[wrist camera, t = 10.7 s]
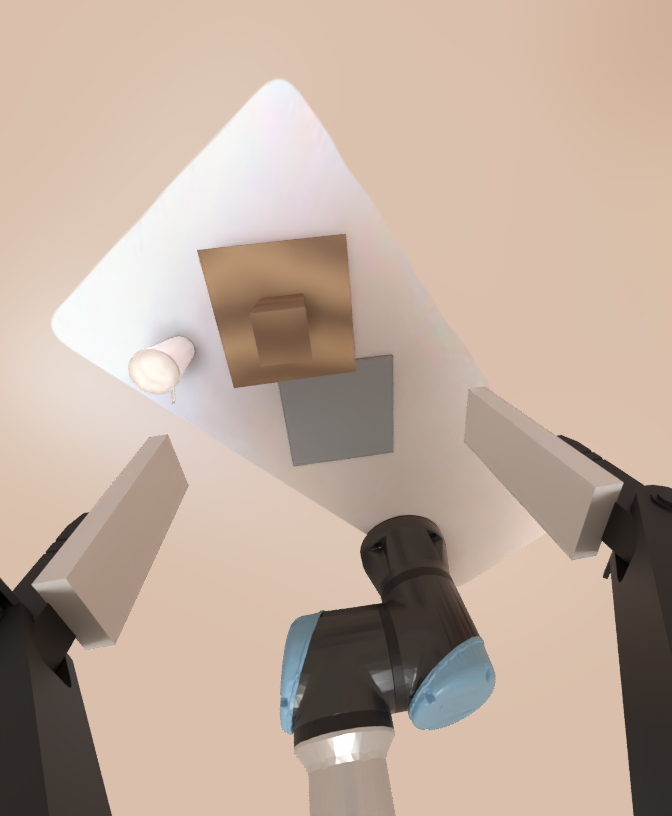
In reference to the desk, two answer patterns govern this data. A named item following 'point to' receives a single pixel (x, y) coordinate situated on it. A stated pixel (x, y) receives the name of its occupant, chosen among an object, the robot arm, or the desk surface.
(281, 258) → the lid
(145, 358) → the milkshake
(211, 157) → the desk surface
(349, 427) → the mat
